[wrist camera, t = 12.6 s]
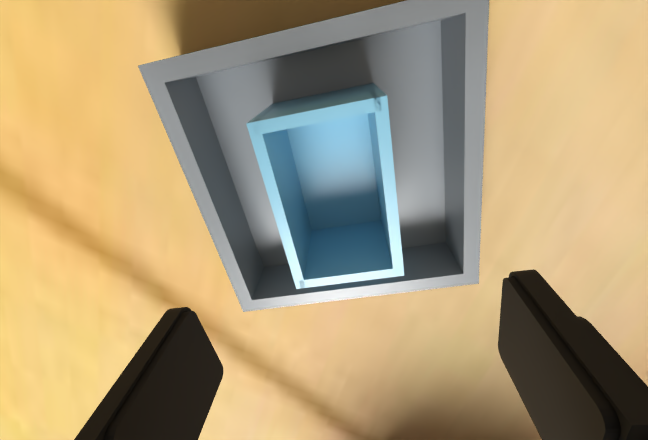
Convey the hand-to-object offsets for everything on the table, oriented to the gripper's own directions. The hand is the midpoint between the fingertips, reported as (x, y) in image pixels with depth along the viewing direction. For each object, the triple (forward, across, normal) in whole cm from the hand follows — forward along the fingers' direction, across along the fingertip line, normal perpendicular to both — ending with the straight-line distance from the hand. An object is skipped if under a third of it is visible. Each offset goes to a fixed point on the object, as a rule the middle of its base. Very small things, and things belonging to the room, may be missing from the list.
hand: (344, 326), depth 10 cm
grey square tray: (+15, +1, 0) cm, 15 cm away
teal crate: (+14, +1, 0) cm, 14 cm away
